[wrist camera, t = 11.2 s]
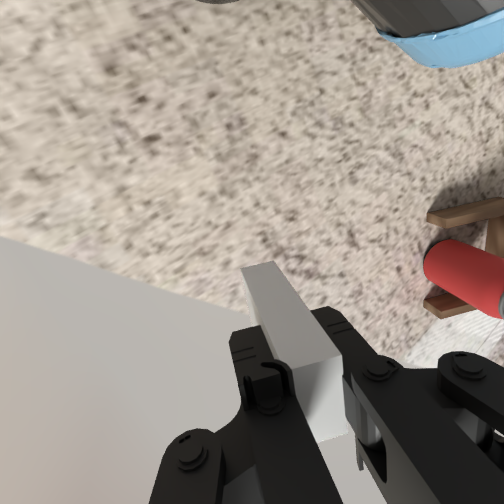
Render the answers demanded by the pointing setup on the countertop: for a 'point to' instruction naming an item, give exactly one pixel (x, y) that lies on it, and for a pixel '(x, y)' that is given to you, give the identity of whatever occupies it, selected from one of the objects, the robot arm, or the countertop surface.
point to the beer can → (468, 275)
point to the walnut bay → (497, 242)
